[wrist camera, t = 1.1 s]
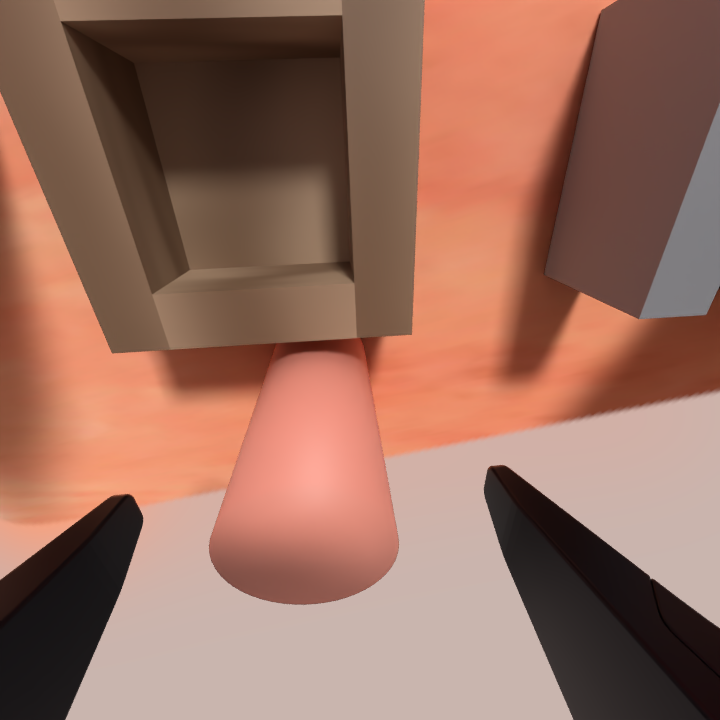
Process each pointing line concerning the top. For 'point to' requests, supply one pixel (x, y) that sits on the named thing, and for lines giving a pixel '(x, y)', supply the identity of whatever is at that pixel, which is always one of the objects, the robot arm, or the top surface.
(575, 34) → the top surface
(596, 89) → the wall
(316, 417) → the dowel
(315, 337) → the socket block
